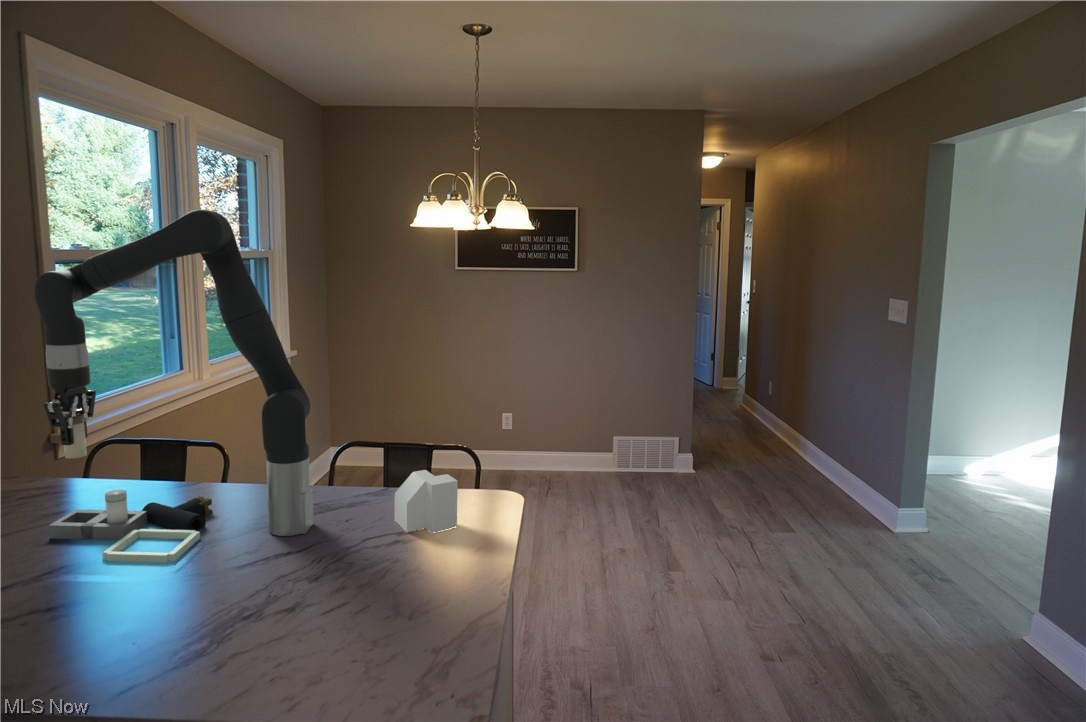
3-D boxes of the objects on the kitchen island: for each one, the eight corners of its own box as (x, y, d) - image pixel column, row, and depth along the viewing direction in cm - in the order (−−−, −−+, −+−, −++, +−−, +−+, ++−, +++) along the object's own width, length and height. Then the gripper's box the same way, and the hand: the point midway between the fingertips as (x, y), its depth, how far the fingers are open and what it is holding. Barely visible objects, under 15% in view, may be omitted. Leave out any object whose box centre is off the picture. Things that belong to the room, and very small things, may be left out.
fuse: (132, 527, 156) (130, 489, 154) (122, 535, 152) (119, 496, 150) (114, 527, 156) (111, 489, 154) (103, 534, 152) (100, 496, 150)
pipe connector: (183, 489, 169) (228, 500, 163) (184, 509, 170) (229, 521, 164) (139, 506, 158) (185, 518, 152) (141, 527, 159) (187, 541, 153)
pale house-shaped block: (456, 528, 164) (457, 480, 162) (412, 538, 158) (412, 488, 156) (437, 513, 173) (437, 467, 171) (394, 522, 167) (394, 474, 165)
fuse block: (147, 527, 158) (146, 511, 158) (125, 544, 149) (123, 527, 149) (77, 525, 158) (75, 509, 157) (50, 542, 149) (48, 525, 148)
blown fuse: (91, 453, 153) (88, 413, 151) (79, 458, 148) (75, 418, 147) (72, 452, 152) (69, 413, 151) (60, 458, 148) (56, 417, 147)
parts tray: (201, 541, 153) (201, 530, 152) (173, 567, 140) (172, 555, 140) (135, 539, 152) (135, 528, 152) (101, 565, 140) (100, 553, 140)
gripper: (63, 371, 140) (70, 451, 143) (106, 359, 154) (111, 433, 157) (26, 369, 140) (34, 451, 143) (72, 358, 154) (78, 432, 157)
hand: (74, 441), depth 150 cm, fingers closed on blown fuse, 4 cm apart
